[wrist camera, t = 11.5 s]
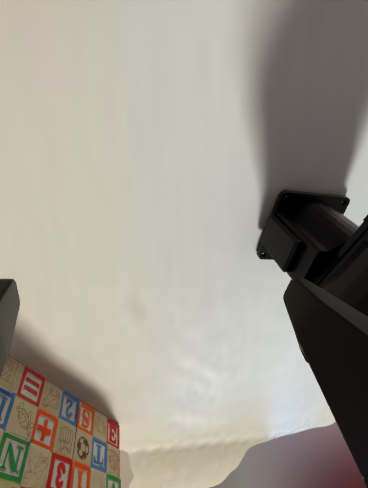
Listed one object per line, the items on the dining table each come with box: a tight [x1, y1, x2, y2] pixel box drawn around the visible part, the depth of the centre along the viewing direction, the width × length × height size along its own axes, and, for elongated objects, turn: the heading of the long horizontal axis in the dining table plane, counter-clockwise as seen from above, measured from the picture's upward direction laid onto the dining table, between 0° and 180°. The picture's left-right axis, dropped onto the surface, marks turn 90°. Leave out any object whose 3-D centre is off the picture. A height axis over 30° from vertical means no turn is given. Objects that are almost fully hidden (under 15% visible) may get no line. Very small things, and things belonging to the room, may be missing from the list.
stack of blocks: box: [0, 356, 121, 488], centre depth 28 cm, size 21×6×12 cm, turn 23°
